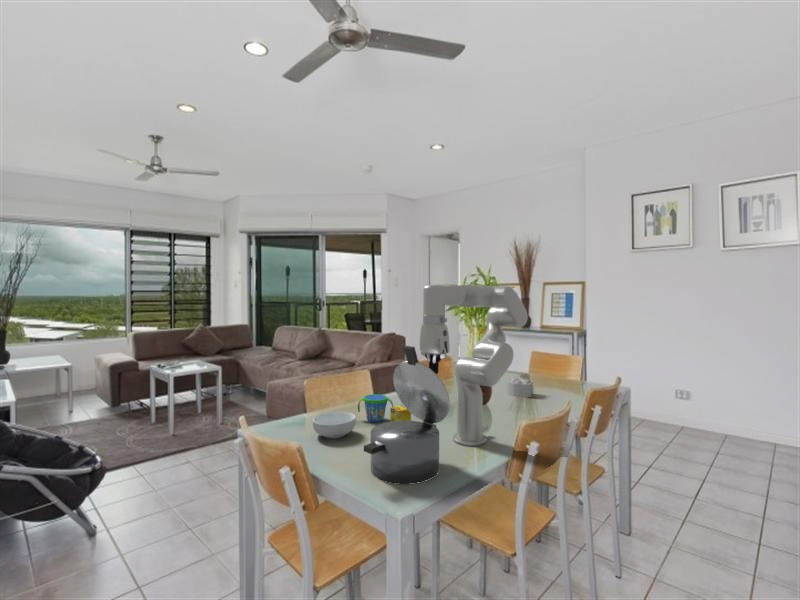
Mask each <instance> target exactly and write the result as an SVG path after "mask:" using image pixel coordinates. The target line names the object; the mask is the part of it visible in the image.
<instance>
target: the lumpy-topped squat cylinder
mask: <svg viewBox="0 0 800 600" xmlns="http://www.w3.org/2000/svg"><path fill="white" fill-rule="evenodd" d="M506 387H507V395H508V396H511V397H514V396H515V397H514V398H522V397H527V398H528V397H530V398H532V395H533V396H534V381H531V380H530V379H527V378H525V377H520V378H518V377H513V378H512V379H508V380H507V386H506ZM527 398H526V399H527ZM528 399H529V398H528Z"/></svg>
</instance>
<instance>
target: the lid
mask: <svg viewBox="0 0 800 600" xmlns="http://www.w3.org/2000/svg"><path fill="white" fill-rule="evenodd" d="M403 350H404V355H405V358H406V359H405V360H404V361H402V362H401V363H399V364H398V365H397V366H396V367H395V368H394V371H393V374H392V375H393V376H392V379H393V380H392V381H393V386H394V390H395V393H396V394H397V398H399V400H400V402H401V403H402V405H403V406H405V407H406V408H407V409H408V410H409V411H410V412H411V415H413V416H414V417H415V418H417V419H419V421H420V420H421V422H426V423H429V424H437V423H440V422H442V421H443V420H445V418H447V416H448V415H449V412H450V410H451V409H450V408H451V403H450V402H451V401H450V396H449V393H448V390H447V388H446V386H445V384H444V383H443V381H442V379H441V378H440V377H439V376H438V374H436V373H435V372H434V371H432V370H431V369H430V368H429V366H428V365H426V364H424V363H422V362H420V361H419V359H418V355H417V350H416V348H415V346H409V345H406V346H404V347H403Z"/></svg>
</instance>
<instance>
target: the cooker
mask: <svg viewBox="0 0 800 600" xmlns="http://www.w3.org/2000/svg"><path fill="white" fill-rule="evenodd" d="M363 452H364V453H367V454H370V472H371V474H372V475H373V477H374V478H376V477H377V479H378V480H381V481H382V480H383V481H382V482H385V481H387V482H386V483H389V482H391V484H394V483H397V484H396V485H410V484H409V483H416V484H418V483H417V482H422V481H425V480H428V479H430V478H432V477H434V476H435V477H437V475H438V474H439V472H440V429H438V428H437V424H436V423H433V424H429V423H426V422H423V421H417V420H411V421H391V422H390V421H387V422H383V423H379V424H377V425H376V426H374V427H372V429H371V430H370V442H369V443H368V444H365V445H363ZM437 473H438V474H437ZM435 477H434V478H435ZM432 479H433V478H432ZM430 480H431V479H430ZM428 481H429V480H428ZM425 482H426V481H425ZM398 483H399V484H398ZM422 483H423V482H422Z"/></svg>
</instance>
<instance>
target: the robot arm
mask: <svg viewBox="0 0 800 600" xmlns="http://www.w3.org/2000/svg"><path fill="white" fill-rule="evenodd" d="M422 290H423V291H422V292H423V293H422V295H423V297H422V298H423V299H422V300H423V302H422V304H423V305H422V306H423V307H422V309H423V310H422V315H423V316H422V324H421V328H420V336H419V349H420V355H421V356H423V357H425V359H426V361H427V362H428V367H429V368H430V369H431V370H432V371H434V372H435V373H436V375H438V374H439V370H440V369H439V363H440V362H441V360H443V359H447V358H448V354H449V353H450V335H449V329H448V325H447V324H446V323H447V322H448V319H447V317H446V306H447V307H448V306H449V307H450V306H451V307H454V306H455V307H464V308H489V309H488V310H487V313H486V325H487V326H486V328H487V329H486V333H484V335H482V338H481V339H480V340H479V341H478V342H477V343H476V345H475V346H474V347H473V349H472V351H471V356H465V357H464V356H463V357H461V358H459V359H457V361H455V364H454V376H455V382H456V394H457V395H456V398H457V399H456V405H457V406H456V433H454V434H453V435H452V440H453V442H455V443H456V444H459V445H463V446H468V447H477V446H482V445H484V444H486V443H487V436H486V435H484V432H485V431H487V430H488V429H489V428H488V426H487V424H484V425H483V391H482V388H481V386H483V387H489V388H491V387H493V386H495V385H497V383H499V382H500V381H501V379H502V378H503V376H504V375H505V374H506V372H507V371H508V369H509V368H510V367H511V365H512V363H513V361H514V349H513V347H512V346H511V344H509V343H507V342H506V340H507V339H506V338H507V337H506V335H505V332H504V330H503V327H505V328H506V327H508V328H522V327H524V326H525V325H526V324H527V323H528V317H529V316H528V311H527V309H526V307H525V305H524V304H523V301H522V300H521V298H520V296H519V295H518V293H517V292H516V291H515V290H514V289H513V287H511V286H508V285H480V284H461V285H460V284H459V285H458V284H427V285H424V286H423V289H422Z"/></svg>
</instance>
